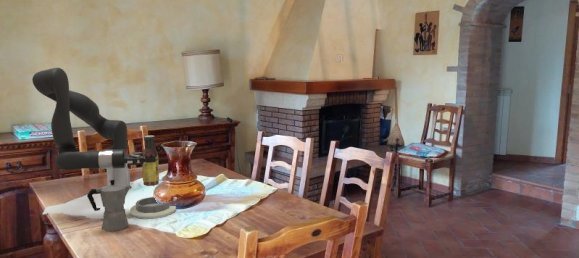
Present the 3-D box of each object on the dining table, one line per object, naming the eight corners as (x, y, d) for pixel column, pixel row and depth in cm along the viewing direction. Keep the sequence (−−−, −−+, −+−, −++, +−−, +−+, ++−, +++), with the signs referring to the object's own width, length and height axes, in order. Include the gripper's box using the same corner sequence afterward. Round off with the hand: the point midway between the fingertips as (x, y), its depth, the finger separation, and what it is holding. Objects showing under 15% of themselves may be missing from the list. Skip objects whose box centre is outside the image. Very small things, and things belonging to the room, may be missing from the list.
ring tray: (150, 201, 198) (150, 193, 198) (184, 207, 191) (184, 198, 190) (120, 215, 182) (119, 205, 181) (156, 221, 175) (155, 211, 174)
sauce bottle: (160, 185, 183) (158, 137, 179) (143, 187, 180) (142, 138, 177) (157, 181, 188) (156, 134, 185) (142, 183, 186) (140, 135, 183)
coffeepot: (130, 219, 177) (128, 174, 174) (136, 227, 169) (134, 180, 166) (87, 227, 169) (84, 180, 166) (92, 235, 161) (88, 186, 158)
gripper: (108, 153, 172) (154, 151, 176) (115, 146, 186) (157, 145, 190) (109, 172, 174) (155, 170, 177) (116, 164, 188) (158, 162, 191)
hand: (156, 157), depth 183 cm, fingers closed on sauce bottle, 6 cm apart
